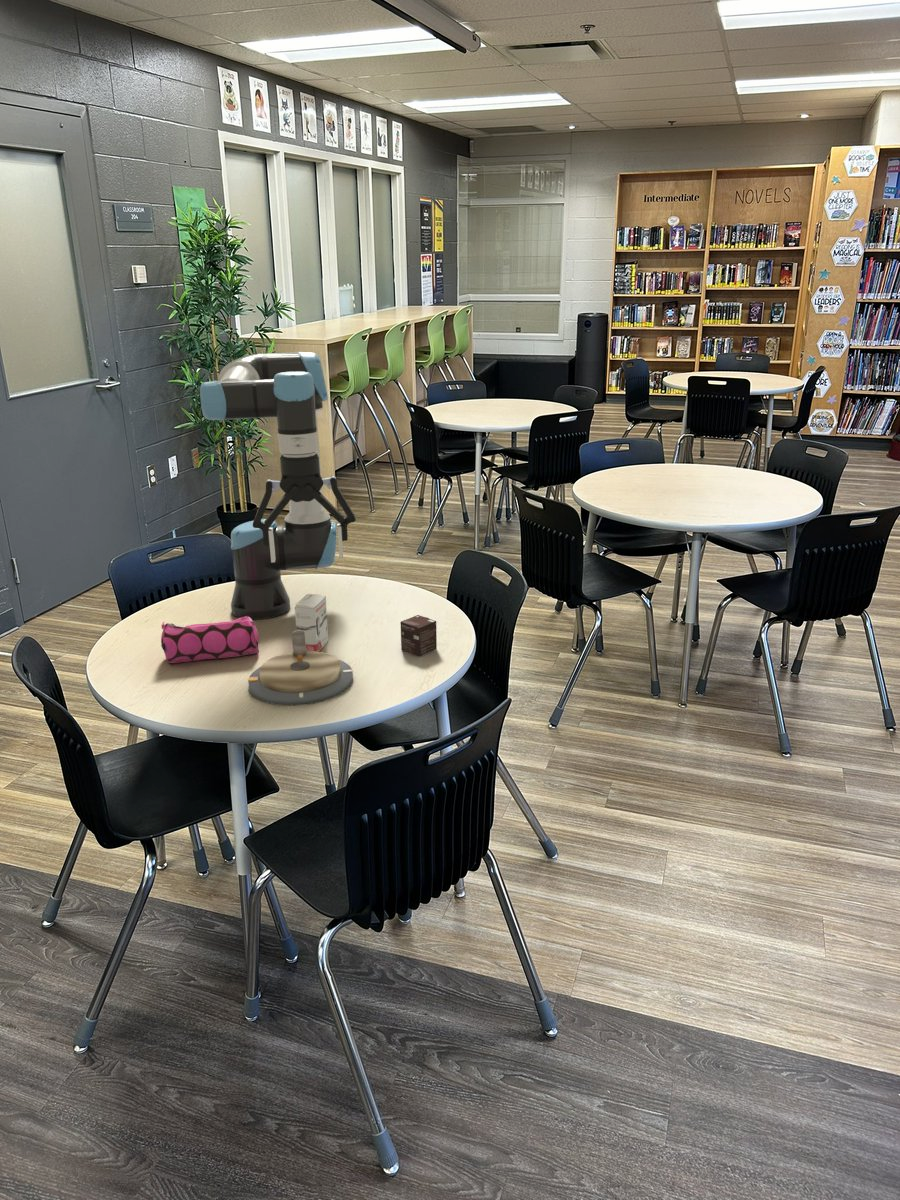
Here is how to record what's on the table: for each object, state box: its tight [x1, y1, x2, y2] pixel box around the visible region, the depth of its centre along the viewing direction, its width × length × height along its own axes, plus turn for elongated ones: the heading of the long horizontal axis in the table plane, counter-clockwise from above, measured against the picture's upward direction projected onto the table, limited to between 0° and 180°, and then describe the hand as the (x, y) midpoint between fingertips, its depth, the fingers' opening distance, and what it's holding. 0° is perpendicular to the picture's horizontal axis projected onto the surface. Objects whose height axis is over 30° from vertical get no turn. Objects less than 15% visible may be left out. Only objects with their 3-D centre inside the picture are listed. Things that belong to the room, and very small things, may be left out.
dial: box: [259, 630, 341, 693], centre depth 188 cm, size 17×17×7 cm
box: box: [400, 614, 438, 658], centre depth 204 cm, size 6×6×7 cm
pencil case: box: [160, 616, 260, 664], centre depth 202 cm, size 21×10×10 cm, turn 106°
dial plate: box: [247, 658, 354, 706], centre depth 190 cm, size 22×22×2 cm
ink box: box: [294, 593, 329, 652], centre depth 206 cm, size 9×5×12 cm, turn 168°
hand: (307, 558), depth 180 cm, fingers open, 13 cm apart
